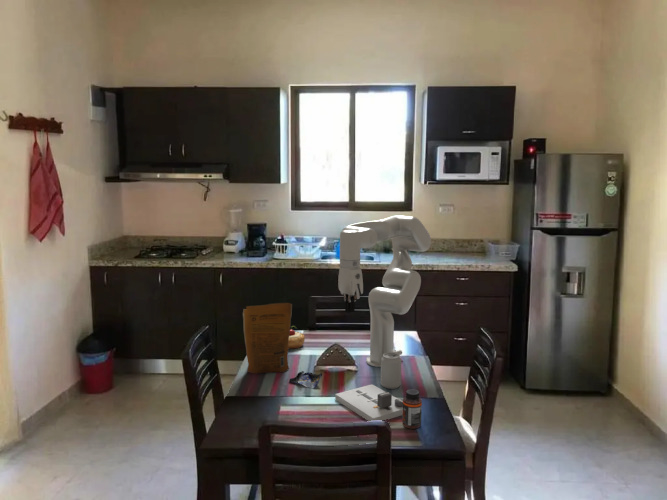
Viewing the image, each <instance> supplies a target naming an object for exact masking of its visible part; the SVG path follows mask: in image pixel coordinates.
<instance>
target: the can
mask: <svg viewBox="0 0 667 500" xmlns="http://www.w3.org/2000/svg"><path fill="white" fill-rule="evenodd" d="M380 384H381V386H383V388H385V389H388V390H394V389H398V388H399V387H400V386H401V385H402V358H401V355H399V354H397V353H385V354H383V357H382V358H381V367H380Z"/></svg>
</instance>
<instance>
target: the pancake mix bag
mask: <svg viewBox="0 0 667 500" xmlns="http://www.w3.org/2000/svg"><path fill="white" fill-rule="evenodd" d="M292 311H293V304H292V303H290V302H275V303H268V304H261V305H259V304H258V305H246V306H245V308H243V310H242V320H243V324H242V325H243V326H242V327H243V335H244V345H245V350H246V351H245V352H246V357H247V363H248V366H247V372H248V373H251V374H256V375H257V374H258V375H259V374H271V373H284V372H286V371H288V370H289V369H290V366H289V362H288V361H289V360H288V353H289V349H288V340H289V334H290V329H291V324H292V323H291V322H292V321H291V319H292V316H293V315H292Z"/></svg>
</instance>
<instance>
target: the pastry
mask: <svg viewBox="0 0 667 500" xmlns="http://www.w3.org/2000/svg"><path fill="white" fill-rule="evenodd" d="M293 327H294V328H295V329H297V327H296V326H295V325H292V326H291V328H290V334H289V340H288V350H294V349H295V350H296V349H298V348H299V349H300V348H301V347H303V345H304V343H305V339H306V337H305V335H304V333H302V332H299V331H296V330H294V329H293Z"/></svg>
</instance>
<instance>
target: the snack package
mask: <svg viewBox="0 0 667 500" xmlns="http://www.w3.org/2000/svg"><path fill="white" fill-rule="evenodd" d="M322 377H323V373H319V374H317V373H314V372H307V371H306V372H305V371H304V370H301V371H299V372H298V373H297V374H296V375H295V377H292V378H289V379H288V381H289V383H293V384H299V385H302V386H304V387H305V388H310V387H309V386H307V385H306V384H305V383H304V382H305V381H306V383H308V382H307V381H309V382H311V383H312V385H311V387H312V386H313V387H312V389H315V390H316V389H317V388H318V386H319V384H320V383H321V380H322V379H321V378H322ZM299 381H301V382H299ZM302 381H304V382H302ZM298 382H299V383H298Z"/></svg>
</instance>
